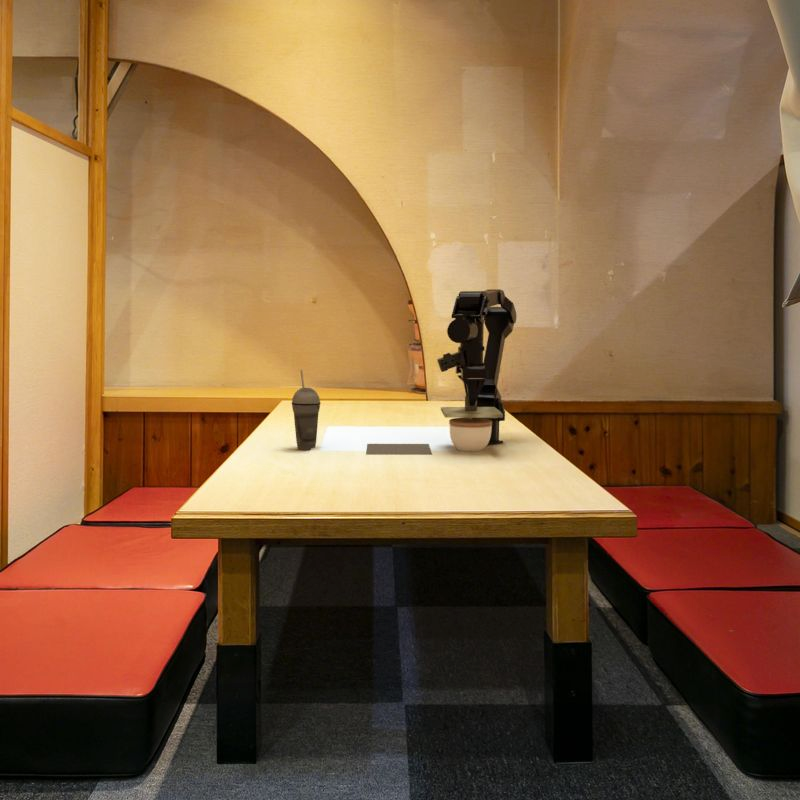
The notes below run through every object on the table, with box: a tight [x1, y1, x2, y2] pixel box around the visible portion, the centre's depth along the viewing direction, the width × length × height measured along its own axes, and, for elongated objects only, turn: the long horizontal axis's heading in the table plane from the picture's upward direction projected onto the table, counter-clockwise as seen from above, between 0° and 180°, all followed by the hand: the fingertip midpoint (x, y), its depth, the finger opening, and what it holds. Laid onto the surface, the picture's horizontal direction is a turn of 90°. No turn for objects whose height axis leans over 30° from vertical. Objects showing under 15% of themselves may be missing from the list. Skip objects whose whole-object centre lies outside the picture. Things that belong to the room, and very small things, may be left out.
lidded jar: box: [448, 418, 492, 452], centre depth 191 cm, size 11×11×9 cm
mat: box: [365, 443, 433, 456], centre depth 191 cm, size 16×16×1 cm
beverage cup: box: [291, 369, 321, 451], centre depth 192 cm, size 7×7×20 cm
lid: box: [440, 395, 503, 419], centre depth 191 cm, size 14×14×4 cm
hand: (470, 404), depth 191 cm, fingers open, 5 cm apart
